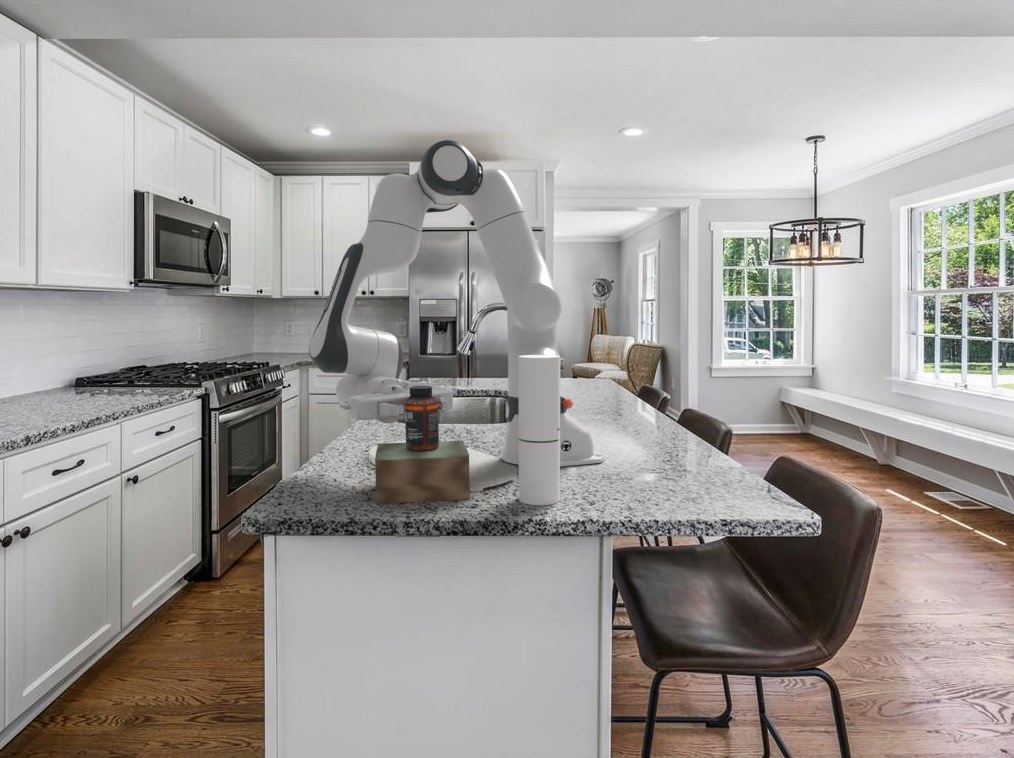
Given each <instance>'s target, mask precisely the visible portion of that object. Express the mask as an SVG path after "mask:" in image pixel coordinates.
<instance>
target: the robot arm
mask: <svg viewBox="0 0 1014 758" xmlns="http://www.w3.org/2000/svg"><path fill="white" fill-rule="evenodd" d="M458 205H461V206H463V207H464V208H465V209H466V210H467V211H468V213H469V215H470V216H471V217H472V220H473V223H474V226H475V229H476V232H477V235H478V237H479V240H480V243H481V245H482V247H483V251H484V253H485V255H486V258H487V260H488V263H489V265H490V268H491V270H492V273H493V275H494V278H495V281H496V283H497V286H498V288H499V290H500V293H501V295H502V297H503V301H504V303H505V306H506V308H507V311H506V312H507V313H506V316H507V317H506V318H507V326H506V327H507V356H508V357H507V360H508V361H507V369H508V370H507V372H508V373H507V382H508V383H507V384H508V385H507V387H508V388H507V389H508V392H507V395H506V401H505V418H506V421H507V425H506V435H505V440H504V446H503V451H502V454H501V457H500V459H501V460H503V462H506V463H510V464H514V465H519V356H523V355H556V356H559V351H558V350H559V349H558V334H557V331H558V330H557V322H558V321H559V319H560V317H561V314H562V307H563V303H562V298H561V296H560V294H559V291H558V288H557V286H556V284H555V281H554V279H553V277H552V274H551V272H550V270H549V267H548V265H547V262H546V260H545V258H544V256H543V254H542V252H541V250H540V248H539V245H538V243H537V240H536V236H535V234H534V231H533V228H532V226H531V224H530V221H529V218H528V216H527V213H526V211H525V207H524V205H523V203H522V200H521V198H520V196H519V195H518V192H517V190H516V188H515V186H514V185H513V183H512V181H511V180H510V178H509V177H508V175H507V174H506V173H505V172H504V171H503V170H501V169H498V168H487V169H484V165H483V164H482V163H481V162H480V161H479V160H478V159H477V158H476V157H474V155H472V153H471V152H470V151H469V150H468V149H467V148H466V147H465V146H464V145H463V144H462V143H460V142H459V141H455V140H450V139H445V140H440V141H438V142H435V143H434V144H432V145H430V147H428V149H426V151H425V152H424V154H423V156H422V158H421V160H420V163H419V165H418V168H417V171H416V172H414V173H413V174H408V175H407V174H403V173H391V174H390V173H389V174H387V175H386V176H384V177H383V178H381V180H380V181H379V182H378V185H377V188H376V191H375V193H374V196H373V199H372V203H371V205H370V210H369V215H368V220H367V224H366V229H365V231H364V234H363V236H362V237H361V238H360V240H359V241H358V242H357V243H353V244H351V245H350V246H349V247H348V249H346V251H345V253H344V255H343V257H342V260H341V262H340V265H339V267H338V270H337V272H336V275H335V278H334V280H333V283H332V286H331V289H330V292H329V295H328V298H327V301H326V303H325V306H324V310H323V312H322V315H321V317H320V320H319V321H318V323H317V325H316V327H315V329H314V331H313V334H312V337H311V340H310V342H309V348H308V349H309V350H308V351H309V356H310V359H311V360H312V362H313V363H314V365H315V366H316V367H317V368H318V369H319V370H320V371H321V372H323V373H325V374H345V376H344V377H342V378H341V379H339V381H338V383H337V385H336V388H335V396H336V398H337V401H338V403H339V408H340V409H342V410H345V411H347V412H348V416H350V418H353V419H356V420H358V421H367V420H372V421H375V422H379V423H383V424H394V423H397V422H398V421H400V420H403V419H404V420H405V401H406V400H407V399H408V398H409V397H410V387H412V386H423V385H425V386H431V387H432V397H433V398H435V399H436V400H437V402H438V412H441V411H450V410H452V409H453V407H454V394H453V391H452V390H451V389H448V388H444V387H441V386H436V385H431V384H428V382H427V381H423V380H408V379H407V380H404V379H400V377H401V373H402V370H403V366H404V351H403V348H402V345H401V343H400V341H399V340H398V339H399V338H397V337H396V335H395V334H393V333H391V332H386V331H382V330H378V329H377V330H376V329H372V328H371V329H370V328H365V327H360V326H355V325H350V324H349V323H348V322H349V317H350V314H351V311H352V309H353V305H354V304H355V303H354V302H355V300H356V297H357V294H358V291H359V289H360V286H361V284H362V283H363V282H364V281H365V280H366V279H368V278H370V277H372V276H374V275H381V274H386V273H387V274H388V273H394V272H397V271H400V270H403V269H405V268H407V267H408V266H410V265H411V264H412V263H413V261H415V259H416V257H417V256H418V252H419V250H420V243H421V238H422V231H423V225H424V221H425V216H426V214H429V213H441V212H442V213H443V212H448V211H452V210H453V209H454V208H456V207H457V206H458ZM573 407H574V401H573V400H572V399H570V398H569V397H567V398H566V397H564V396H561V395H560V468H561V467H569V466H579V465H589V464H590V465H591V464H601V463H603V462H604V454H603V453H602V452H601V451H600V450H598V449H597V448H594V447H595V446H594V443H593V442H594V441H593V437H592V434H591V432H590V430H589V428H587V427H586V426H585V425H584V424H583V423H581V422H580V421H579V420H578V419H576V418H575V417H574V416H572V415H571V414H570V413H569V412H567V410H568V409H572V408H573Z"/></svg>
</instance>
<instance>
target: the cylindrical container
mask: <svg viewBox="0 0 1014 758" xmlns="http://www.w3.org/2000/svg"><path fill="white" fill-rule="evenodd" d="M560 396H561V355H558V356H556V355H523V356H519V464H518V500H519V502H520V503H523V504H526V505H531V506H548V505H554V504H557V503H558V502H560V500H561V499H560V497H561V496H560V495H561V490H560V488H561V487H560V486H561V485H560V483H561V482H560V481H561V473H560V472H561V470H560V469H561V467H560Z"/></svg>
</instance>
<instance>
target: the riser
mask: <svg viewBox="0 0 1014 758" xmlns="http://www.w3.org/2000/svg"><path fill="white" fill-rule="evenodd" d="M374 456H375V457H374V462H375V463H374V464H375V465H374V467H375V469H374V470H375V471H374V472H375V500H376V501H375V502H376V505H379V504H398V503H399V504H400V503H401V504H402V503H403V504H405V503H420V502H421V503H422V502H423V503H424V502H439V501H440V502H441V501H443V502H444V501H460V500H461V501H462V500H470V489H471V488H470V487H471V486H470V453H469V451H468V449H467V447H466V444H465V442H464V440H444V441H443V440H441V441H440V440H439V446H438V447H437V448H436V449H434V450H430V451H412V450H408V449H407V448H406V442H387V443H386V442H384V443H382V442H381V443H377V447H376V451H375V455H374Z"/></svg>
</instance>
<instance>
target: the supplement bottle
mask: <svg viewBox="0 0 1014 758" xmlns="http://www.w3.org/2000/svg"><path fill="white" fill-rule="evenodd" d="M404 423H405V424H404V425H405V426H404V427H405V443H406V448H407V449H408V450H412V451H430V450H434V449H436V448H437V447H438V446H439V441H440V439H439V438H440V437H439V411H438V402H437V400H436V399H435V398H433V397H432V387H431V386H425V385H423V386H412V387H410V397H409V398H408V399H407V400H406V401H405V418H404Z"/></svg>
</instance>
